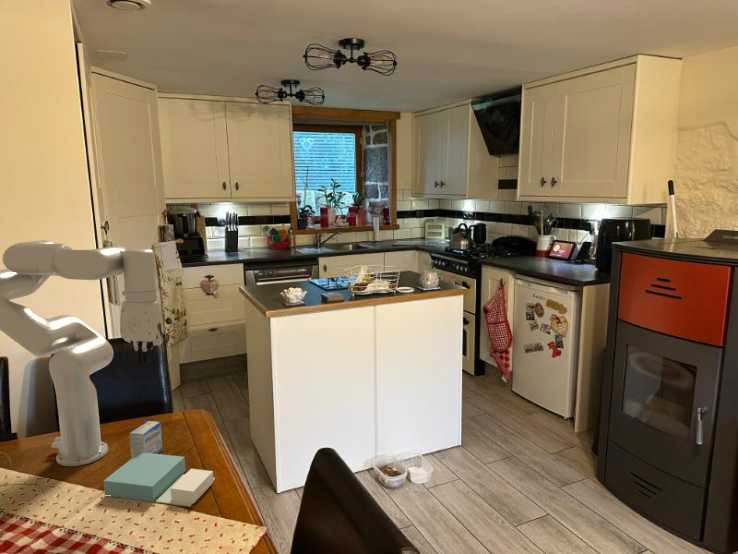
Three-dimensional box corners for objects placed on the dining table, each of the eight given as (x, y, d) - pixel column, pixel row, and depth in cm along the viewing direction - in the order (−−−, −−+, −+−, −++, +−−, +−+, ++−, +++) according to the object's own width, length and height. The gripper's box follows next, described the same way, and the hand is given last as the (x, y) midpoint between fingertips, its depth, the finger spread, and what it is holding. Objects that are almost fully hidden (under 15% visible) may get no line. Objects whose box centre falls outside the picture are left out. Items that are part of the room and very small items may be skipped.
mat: (155, 502, 121) (155, 501, 121) (183, 475, 132) (182, 474, 132) (190, 506, 119) (190, 505, 119) (215, 478, 131) (215, 477, 131)
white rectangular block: (193, 491, 120) (194, 503, 120) (212, 471, 128) (213, 482, 129) (170, 488, 121) (171, 500, 121) (191, 468, 129) (191, 479, 130)
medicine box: (145, 464, 138) (143, 434, 136) (131, 462, 139) (128, 432, 137) (163, 450, 145) (161, 421, 144) (149, 448, 146) (146, 420, 145)
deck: (104, 495, 123) (103, 480, 123) (141, 466, 137) (140, 452, 136) (153, 502, 121) (152, 486, 120) (185, 471, 135) (184, 456, 134)
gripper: (105, 297, 130) (110, 366, 133) (156, 301, 127) (159, 372, 130) (126, 291, 137) (130, 357, 140) (175, 295, 134) (177, 363, 137)
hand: (144, 364), depth 135 cm, fingers closed
